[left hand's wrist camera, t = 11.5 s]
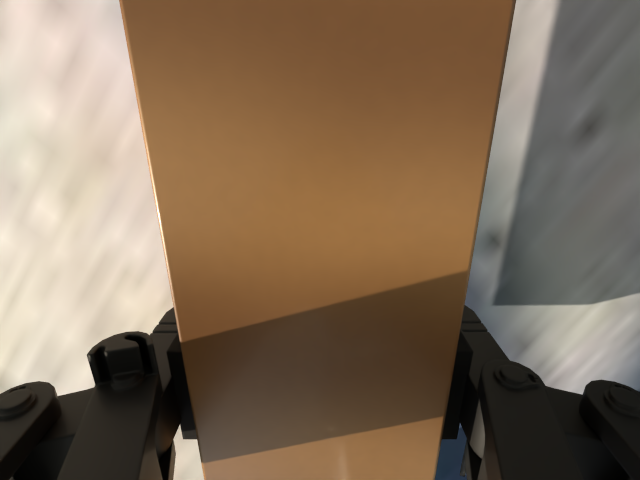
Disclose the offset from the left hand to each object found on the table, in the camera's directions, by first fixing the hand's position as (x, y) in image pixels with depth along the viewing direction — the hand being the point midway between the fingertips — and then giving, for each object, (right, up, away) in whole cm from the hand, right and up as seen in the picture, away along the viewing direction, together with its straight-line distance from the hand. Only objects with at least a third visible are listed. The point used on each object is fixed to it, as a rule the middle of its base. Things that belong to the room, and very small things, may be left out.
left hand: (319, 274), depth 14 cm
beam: (0, +26, -9) cm, 27 cm away
